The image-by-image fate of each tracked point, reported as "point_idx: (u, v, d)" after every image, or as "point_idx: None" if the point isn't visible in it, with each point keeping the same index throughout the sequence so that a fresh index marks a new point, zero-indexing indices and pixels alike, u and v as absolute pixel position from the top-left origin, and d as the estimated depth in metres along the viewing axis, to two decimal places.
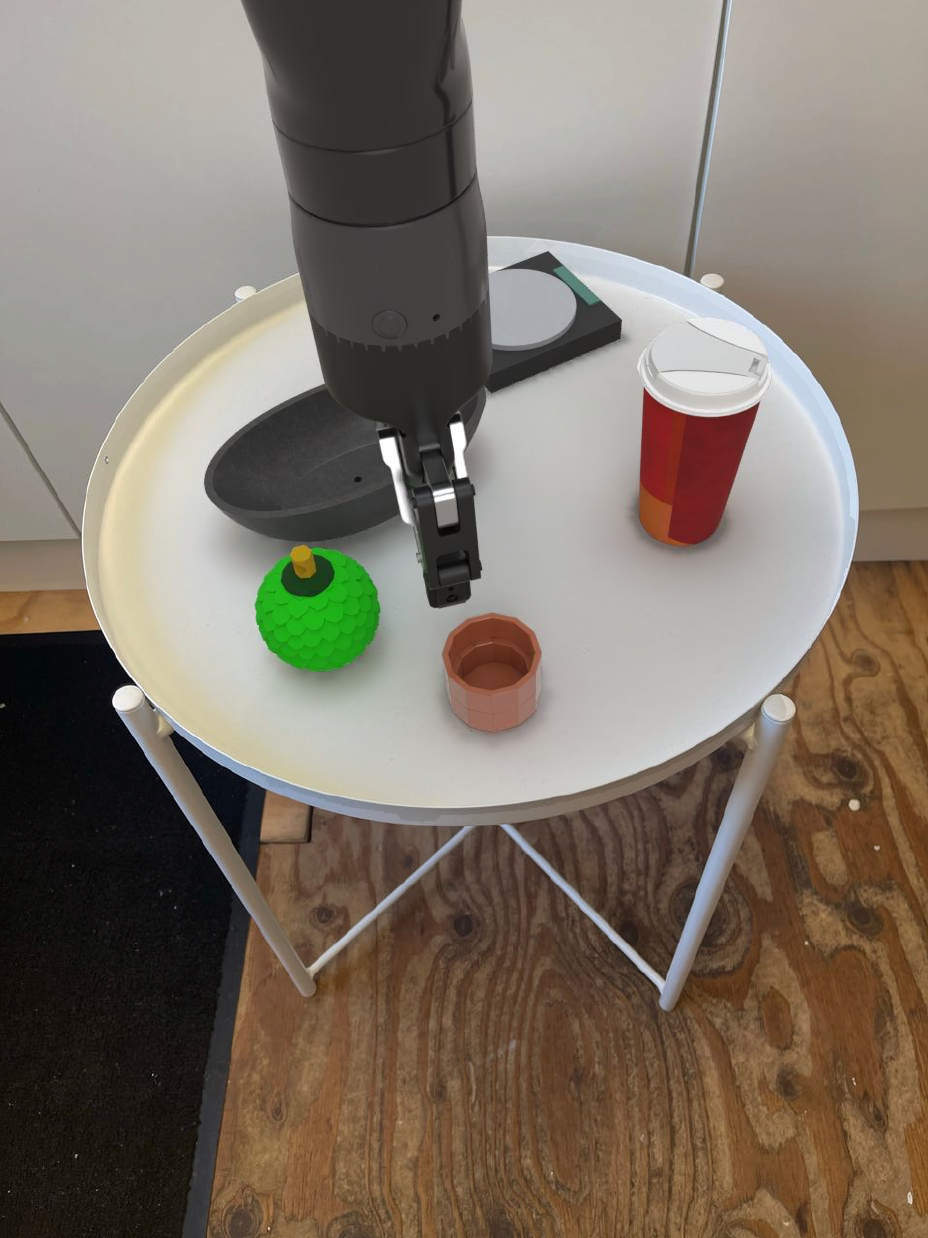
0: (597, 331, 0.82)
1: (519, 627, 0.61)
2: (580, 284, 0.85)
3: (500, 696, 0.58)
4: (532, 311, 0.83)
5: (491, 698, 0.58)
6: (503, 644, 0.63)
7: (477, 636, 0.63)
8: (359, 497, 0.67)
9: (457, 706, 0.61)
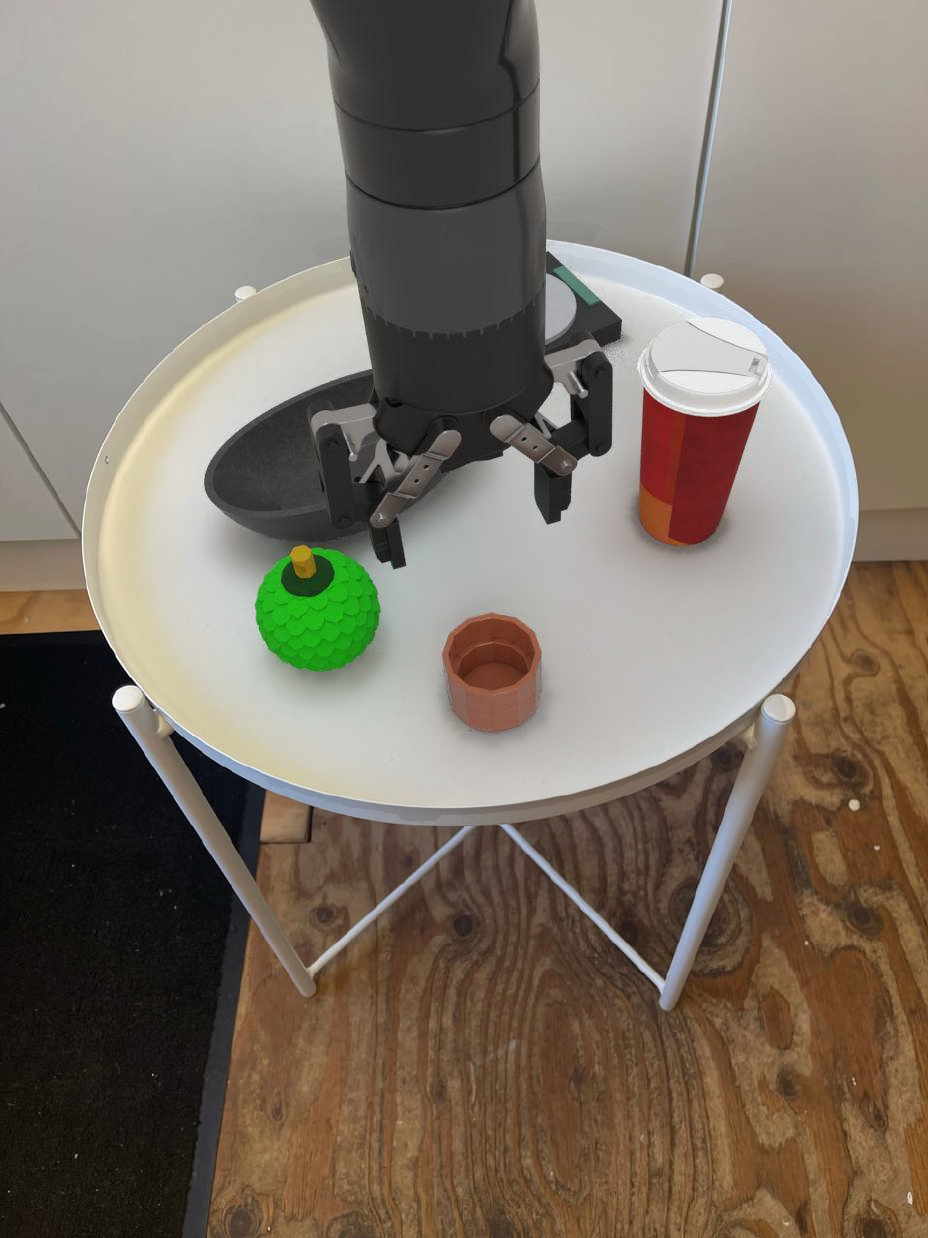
0: (597, 331, 0.82)
1: (519, 627, 0.61)
2: (580, 284, 0.85)
3: (500, 696, 0.58)
4: None
5: (491, 698, 0.58)
6: (503, 644, 0.63)
7: (477, 636, 0.63)
8: None
9: (457, 706, 0.61)
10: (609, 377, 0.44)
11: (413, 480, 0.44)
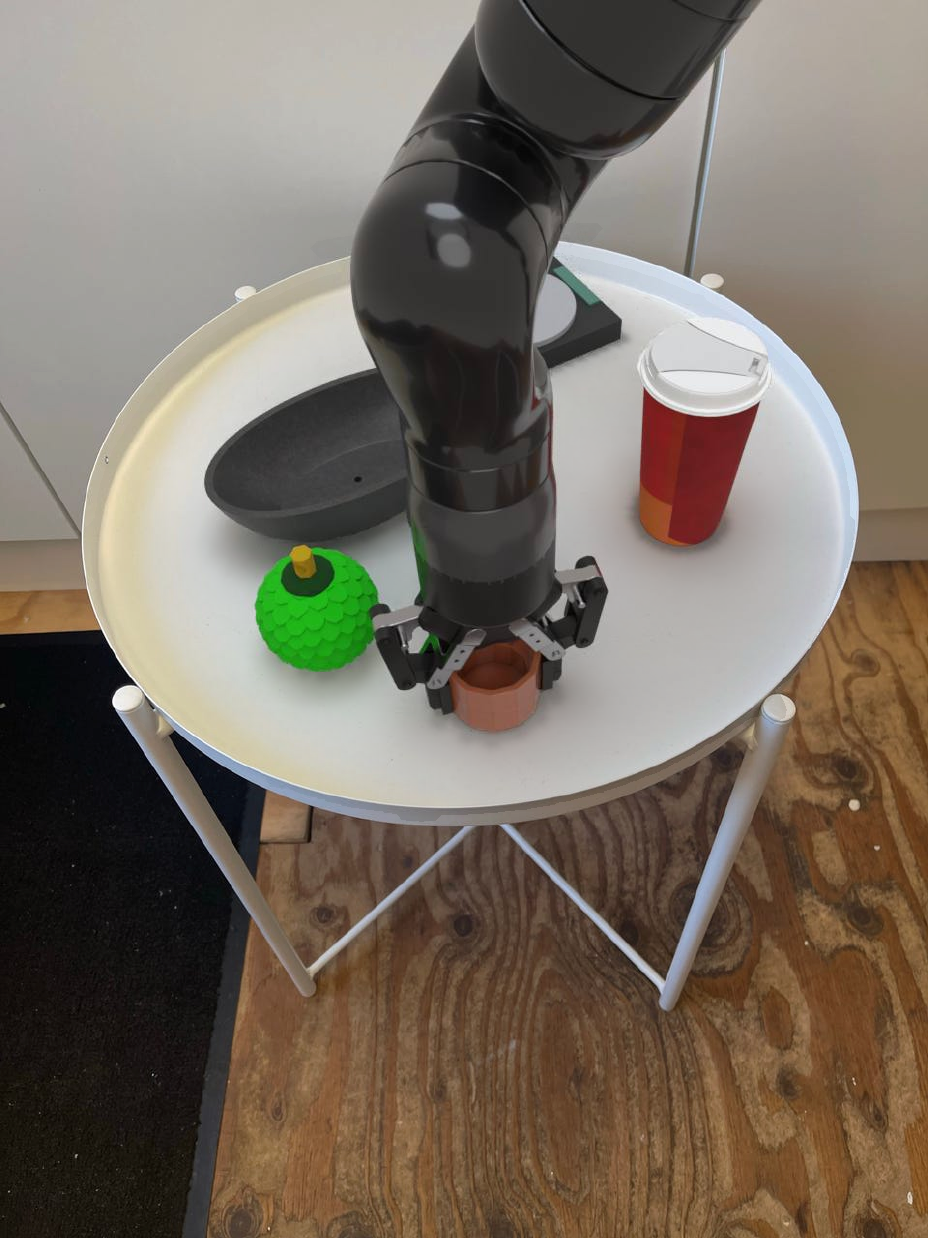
0: (597, 331, 0.82)
1: None
2: (580, 284, 0.85)
3: (500, 696, 0.58)
4: None
5: (491, 698, 0.58)
6: (503, 644, 0.63)
7: None
8: (359, 497, 0.67)
9: (457, 706, 0.61)
10: (604, 597, 0.56)
11: (454, 661, 0.56)
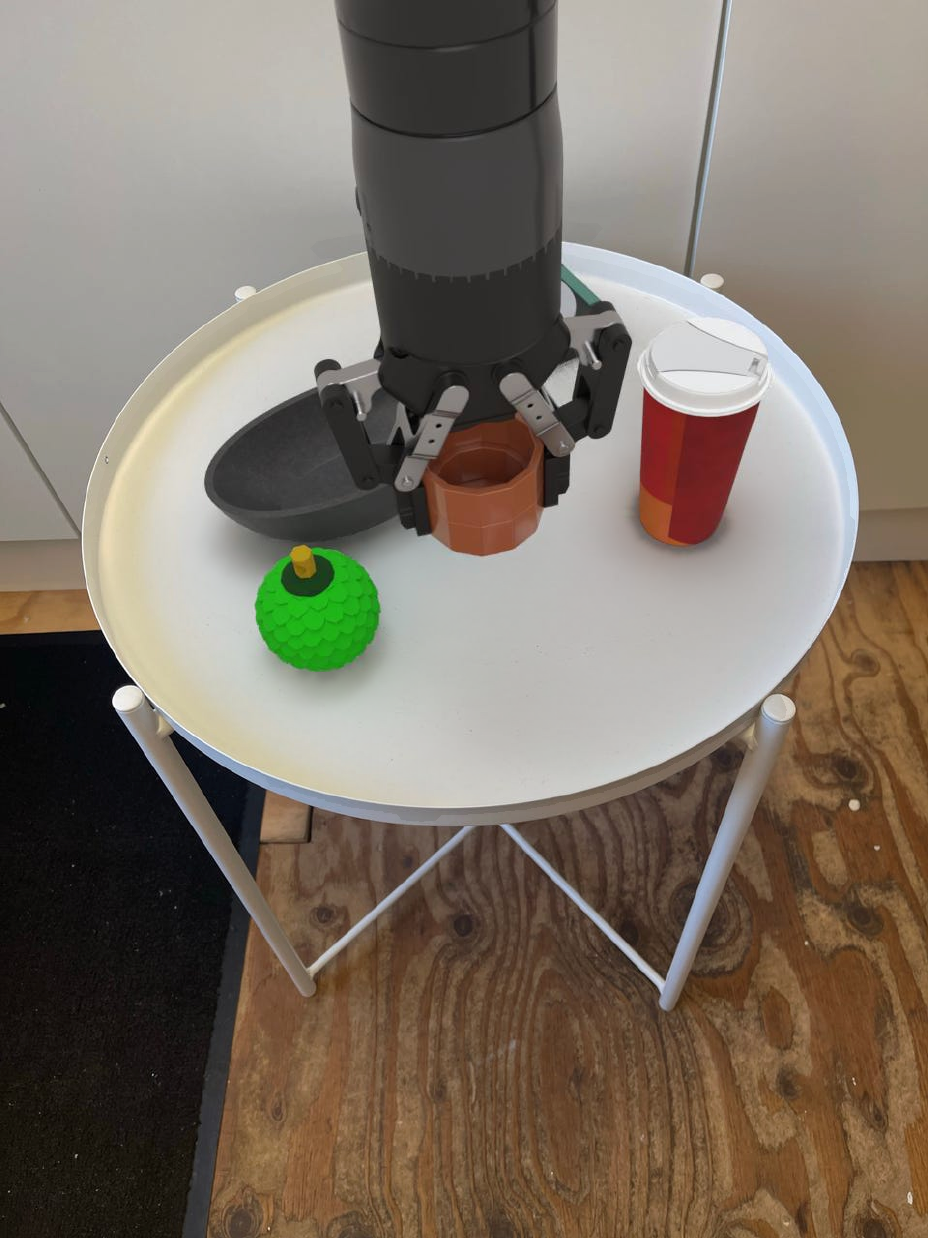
0: None
1: (515, 418, 0.47)
2: (580, 284, 0.85)
3: (490, 496, 0.45)
4: None
5: (478, 499, 0.45)
6: (495, 448, 0.49)
7: (461, 437, 0.49)
8: (359, 497, 0.67)
9: (435, 522, 0.48)
10: (626, 353, 0.42)
11: (428, 441, 0.43)
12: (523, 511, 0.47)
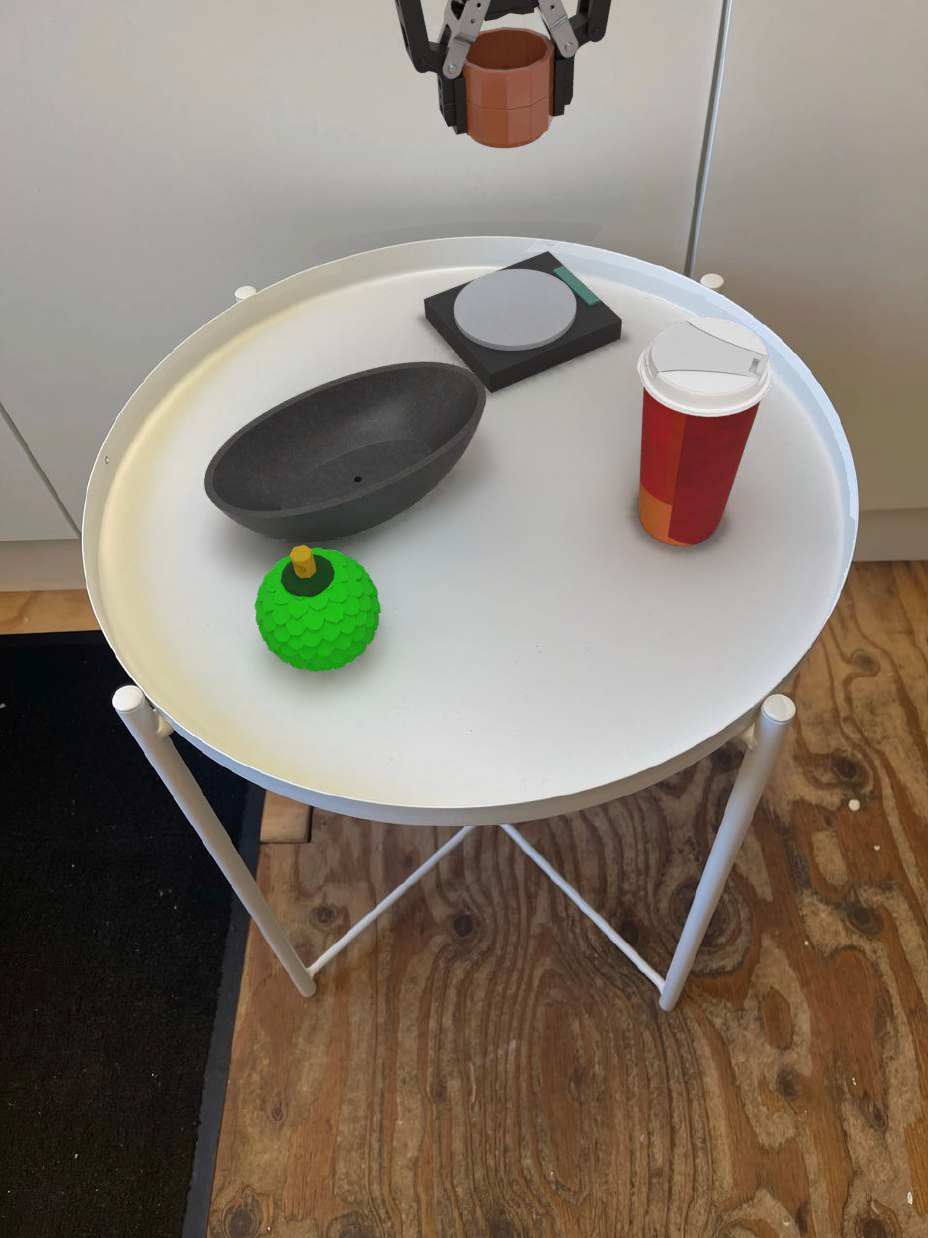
0: (597, 331, 0.82)
1: (532, 34, 0.62)
2: (580, 284, 0.85)
3: (515, 75, 0.59)
4: (532, 311, 0.83)
5: (506, 78, 0.59)
6: (515, 68, 0.64)
7: (490, 59, 0.64)
8: (359, 497, 0.67)
9: (471, 116, 0.62)
10: None
11: (470, 20, 0.57)
12: (539, 100, 0.61)
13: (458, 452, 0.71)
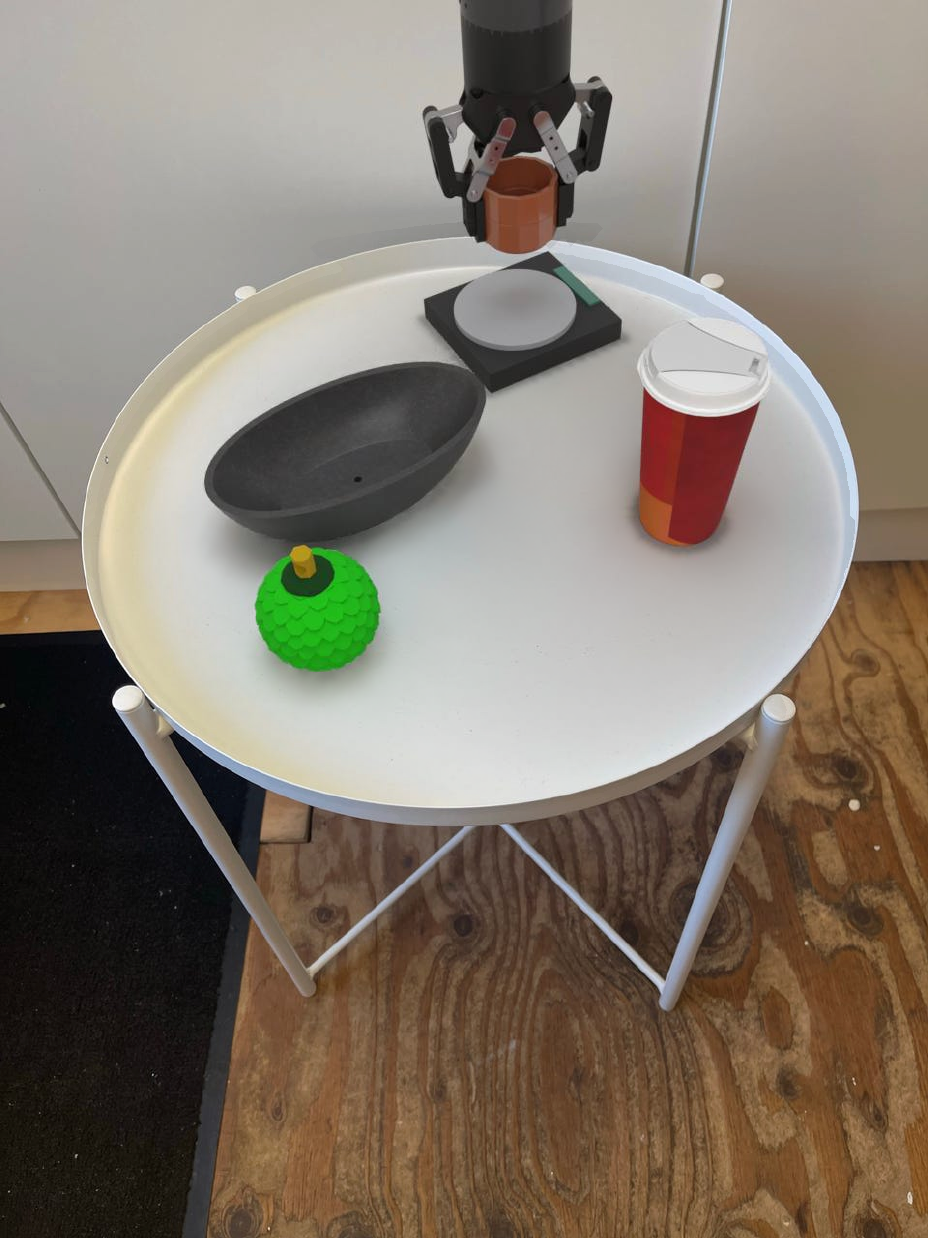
0: (597, 331, 0.82)
1: (540, 162, 0.75)
2: (580, 284, 0.85)
3: (525, 201, 0.73)
4: (532, 311, 0.83)
5: (518, 203, 0.73)
6: (526, 187, 0.77)
7: (505, 180, 0.77)
8: (359, 497, 0.67)
9: (489, 229, 0.76)
10: (609, 105, 0.70)
11: (490, 160, 0.71)
12: (545, 218, 0.75)
13: (458, 452, 0.71)
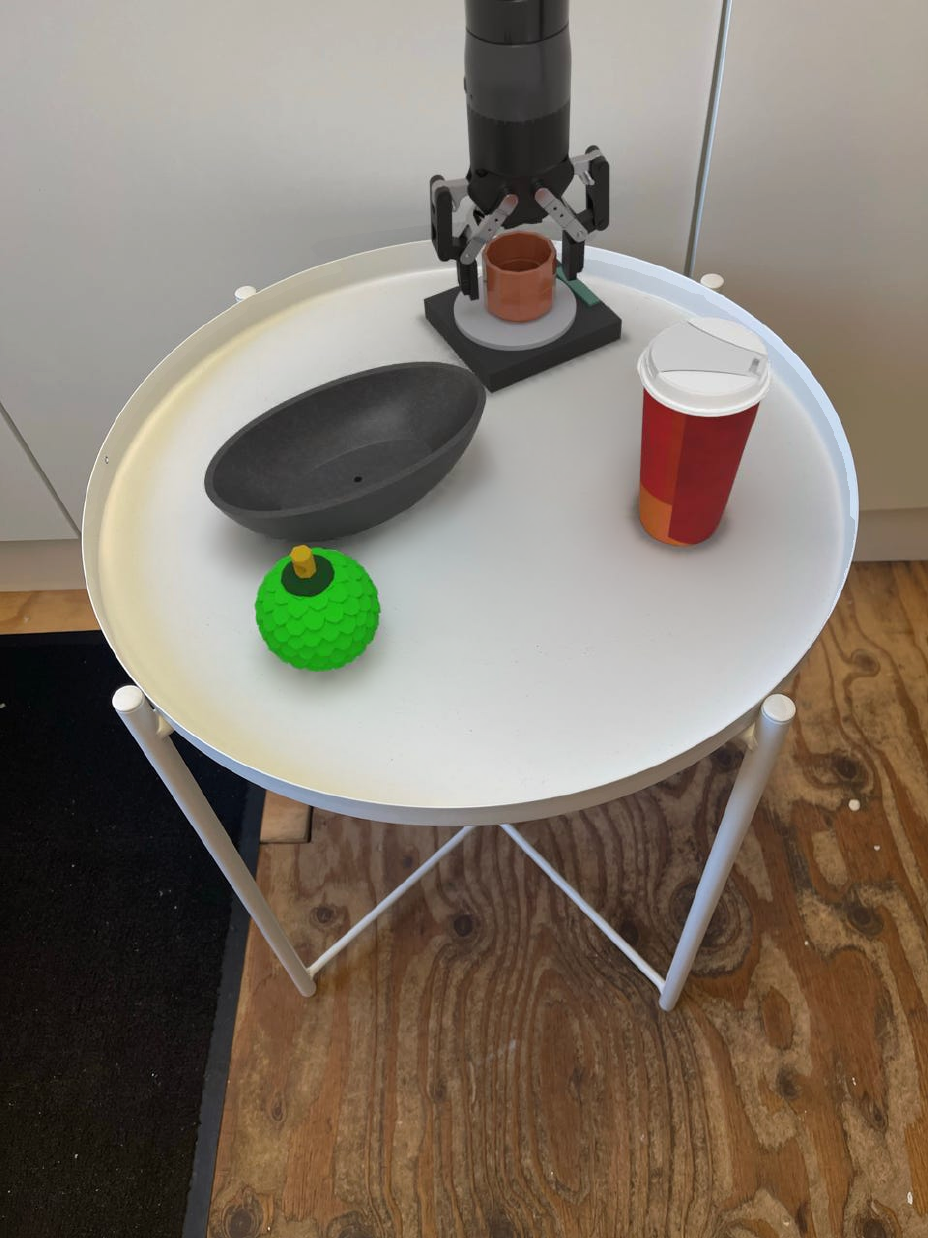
0: (597, 331, 0.82)
1: (539, 238, 0.81)
2: (580, 284, 0.85)
3: (526, 276, 0.78)
4: None
5: (519, 278, 0.78)
6: (527, 259, 0.83)
7: (507, 253, 0.82)
8: (359, 497, 0.67)
9: (492, 299, 0.81)
10: (607, 172, 0.74)
11: (488, 229, 0.75)
12: (544, 290, 0.80)
13: (458, 452, 0.71)
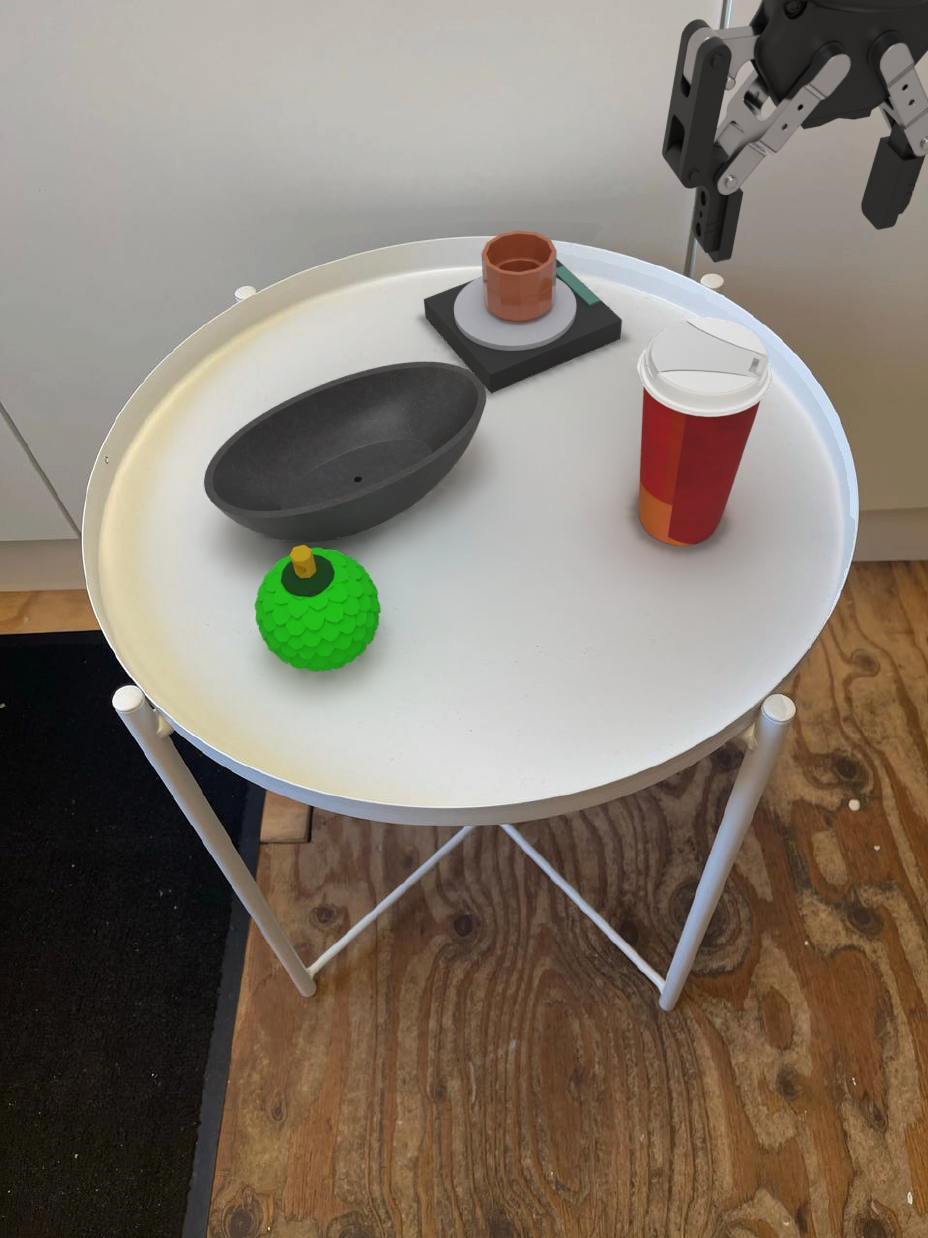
0: (597, 331, 0.82)
1: (539, 238, 0.81)
2: (580, 284, 0.85)
3: (526, 276, 0.78)
4: None
5: (519, 278, 0.78)
6: (527, 259, 0.83)
7: (507, 253, 0.82)
8: (359, 497, 0.67)
9: (492, 299, 0.81)
10: None
11: (782, 125, 0.41)
12: (544, 290, 0.80)
13: (458, 452, 0.71)
